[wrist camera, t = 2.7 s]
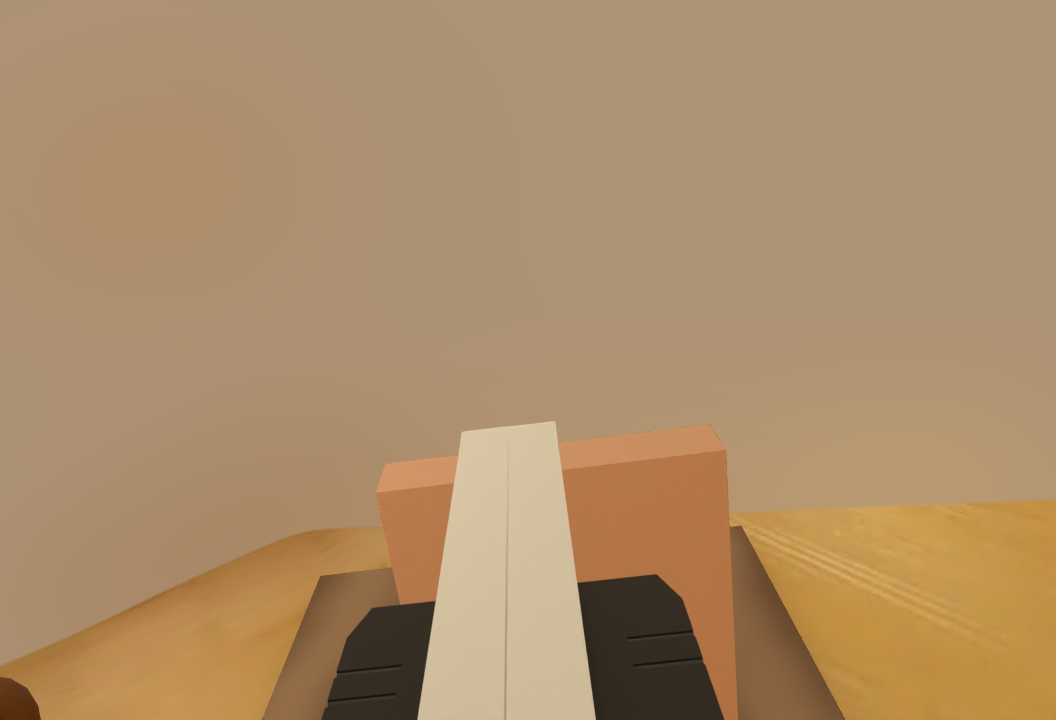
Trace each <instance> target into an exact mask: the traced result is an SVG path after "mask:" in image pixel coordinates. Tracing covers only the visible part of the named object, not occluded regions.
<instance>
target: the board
mask: <svg viewBox="0 0 1056 720" xmlns="http://www.w3.org/2000/svg"><path fill="white" fill-rule="evenodd" d="M730 548H731V571H732V593H733V616H734V638H735V661H736V683H737V706H738V720H845V718H844V716H843V715H842V713H841V711H840V709H839V707H838V705H837V703H836V701H835V700H834V698H833V696H832V694H831V692H830V690H829V688H828V687H827V685H826V683H825V681H824V679H823V677H822V675H821V674H820V672H819V670H818V668H817V666H816V664H815V662H814V661H813V659H812V657H811V655H810V653H809V651H808V649H807V647H806V646H805V644H804V642H803V640H802V638H801V636H800V634H799V633H798V631H797V629H796V627H795V625H794V623H793V621H792V620H791V618H790V616H789V614H788V612H787V610H786V608H785V607H784V605H783V603H782V601H781V599H780V597H779V595H778V593H777V592H776V590H775V588H774V586H773V584H772V582H771V580H770V579H769V577H768V575H767V573H766V571H765V569H764V567H763V566H762V564H761V562H760V560H759V558H758V556H757V554H756V553H755V551H754V549H753V547H752V545H751V543H750V541H749V539H748V538H747V536H746V534H745V532H744V530H743V528H742V526H735V527H730ZM393 605H400V602H399V597H398V593H397V588H396V584H395V579H394V574H393V570H392V568H384V569H376V570H367V571H359V572H351V573H342V574H334V575H326V576H320V578H319V581H318V583H317V586H316V588H315V591H314V593H313V596H312V598H311V601H310V603H309V605H308V608H307V610H306V613H305V615H304V618H303V620H302V623H301V625H300V628H299V630H298V633H297V635H296V637H295V640H294V642H293V645H292V647H291V650H290V652H289V655H288V657H287V660H286V662H285V664H284V667H283V669H282V672H281V674H280V677H279V679H278V682H277V684H276V687H275V689H274V691H273V694H272V696H271V699H270V701H269V704H268V706H267V709H266V711H265V714H264V716H263V718H262V720H321V719H322V716H323V713H324V709H325V707H327V706H328V701H327V700H328V697H329V693H330V690H331V687H332V684H333V681H334V678H336V677H337V672H336V671H337V668H338V665H339V661H340V658H341V655H342V652H343V649H344V645H345V642H346V639H347V637H348V636H349V635H350V633H351V632H352V631H353V630H354V629H355V628H356V626H357V625H358V624H359V623H360V622H361V620H362V619H363V618H364V617H365V616H366V615H367V613H368V612H369V611H370V610H371V609H372V608H375V607H384V606H393Z"/></svg>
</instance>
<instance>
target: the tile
mask: <svg viewBox="0 0 1056 720" xmlns="http://www.w3.org/2000/svg"><path fill="white" fill-rule="evenodd" d="M558 446H559V454H560V461H561V468H562V476H563V483H564V490H565V498H566V505H567V512H568V520H569V527H570V534H571V542H572V549H573V556H574V564H575V571H576V578H577V583H579V582H588V581H597V580H607V579H616V578H625V577H634V576H643V575H653V574H657V575H658V576H659V577H660V578H661V579H662V580H663V581H664V582H665V583H666V584H668V585H669V586H670V587H671V588H672V589H673V590H674V591H675V592H676V593H677V594H678V595H679V596H680V597H681V598H682V599H683V602H684V604H685V607H686V610H687V613H688V616H689V619H690V622H691V625H692V628H693V632H694V636H696V639H697V642H698V645H699V648H700V651H701V654H702V656H703V662H704V664H705V665H706V668H707V671H708V674H709V677H710V679H711V682H712V685H713V688H714V691H715V694H716V697H717V700H718V703H719V705H720V708H721V711H722V714H723V717H724V720H738V706H737V683H736V661H735V638H734V616H733V593H732V571H731V548H730V526H729V505H728V504H729V503H728V481H727V460H726V449H725V447H724V446H723V444H722V443H721V441H720V439H719V438H718V436H717V434H716V433H715V431H714V429H713V428H712V426H711V424H706V425H698V426H690V427H682V428H673V429H665V430H658V431H649V432H642V433H633V434H625V435H617V436H609V437H600V438H592V439H584V440H576V441H568V442H560V443H558ZM457 462H458V455H455V456H447V457H438V458H430V459H422V460H414V461H405V462H398V463H390V464H386V465H385V468H384V471H383V474H382V476H381V479H380V482H379V485H378V488H377V491H376V496H377V501H378V506H379V510H380V515H381V519H382V524H383V528H384V533H385V538H386V542H387V547H388V551H389V556H390V561H391V565H392V570H393V574H394V579H395V584H396V588H397V593H398V597H399V602H400V605H403V604H412V603H421V602H430V601H436V597H437V590H438V584H439V577H440V571H441V565H442V558H443V552H444V545H445V539H446V532H447V526H448V519H449V513H450V507H451V500H452V494H453V487H454V481H455V474H456V468H457Z"/></svg>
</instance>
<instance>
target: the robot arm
mask: <svg viewBox="0 0 1056 720" xmlns="http://www.w3.org/2000/svg"><path fill="white" fill-rule="evenodd" d="M336 672H337V677H336V678H334V681H333V684H332V687H331V690H330V693H329V697H328V700H327V701H328V706H327V707H325V709H324V713H323V716H322V719H321V720H724V717H723V714H722V711H721V708H720V705H719V703H718V700H717V697H716V694H715V691H714V688H713V685H712V682H711V679H710V677H709V674H708V671H707V668H706V665H705V664H704V662H703V656H702V654H701V651H700V648H699V645H698V642H697V639H696V636H694V632H693V628H692V625H691V622H690V619H689V616H688V613H687V610H686V607H685V604H684V602H683V599H682V598H681V597H680V596H679V595H678V594H677V593H676V592H675V591H674V590H673V589H672V588H671V587H670V586H669V585H668V584H666V583H665V582H664V581H663V580H662V579H661V578H660V577H659V576H658V575H657V574H653V575H643V576H634V577H625V578H616V579H607V580H597V581H588V582H579V583H577V578H576V571H575V564H574V556H573V549H572V542H571V534H570V527H569V520H568V512H567V505H566V498H565V490H564V483H563V476H562V468H561V461H560V454H559V446H558V439H557V432H556V425H555V421H552V422H543V423H534V424H525V425H516V426H508V427H499V428H490V429H481V430H472V431H463V432H462V436H461V442H460V449H459V455H458V462H457V468H456V474H455V481H454V487H453V494H452V500H451V507H450V513H449V519H448V526H447V532H446V539H445V545H444V552H443V558H442V565H441V571H440V577H439V584H438V590H437V597H436V601H430V602H421V603H412V604H403V605H393V606H384V607H375V608H372V609H371V610H370V611H369V612H368V613H367V615H366V616H365V617H364V618H363V619H362V620H361V622H360V623H359V624H358V625H357V626H356V628H355V629H354V630H353V631H352V632H351V633H350V635H349V636H348V637H347V639H346V642H345V645H344V649H343V652H342V655H341V658H340V661H339V665H338V668H337V671H336Z"/></svg>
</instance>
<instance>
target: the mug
mask: <svg viewBox="0 0 1056 720" xmlns="http://www.w3.org/2000/svg"><path fill="white" fill-rule="evenodd" d="M0 720H41V718H40V713H39V708H38V705H37V703H36V702H35V700H34V698H33V697H32V695H31V694H30V692H29V691H28V689H27V688H26V687H24V686H22V685H21V684H19V683H17V682H16V681H14V680H12V679H10V678H2V677H0Z"/></svg>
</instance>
